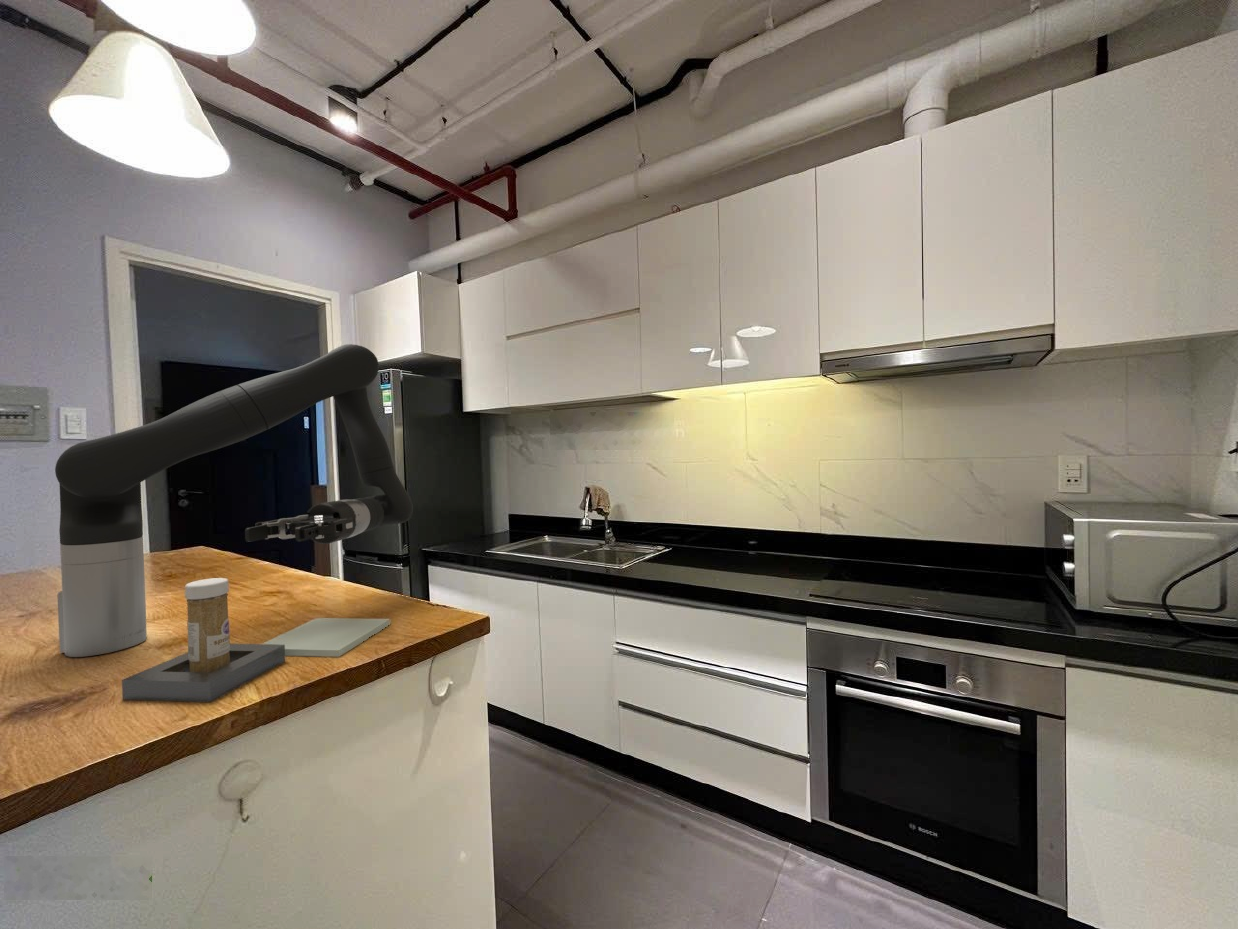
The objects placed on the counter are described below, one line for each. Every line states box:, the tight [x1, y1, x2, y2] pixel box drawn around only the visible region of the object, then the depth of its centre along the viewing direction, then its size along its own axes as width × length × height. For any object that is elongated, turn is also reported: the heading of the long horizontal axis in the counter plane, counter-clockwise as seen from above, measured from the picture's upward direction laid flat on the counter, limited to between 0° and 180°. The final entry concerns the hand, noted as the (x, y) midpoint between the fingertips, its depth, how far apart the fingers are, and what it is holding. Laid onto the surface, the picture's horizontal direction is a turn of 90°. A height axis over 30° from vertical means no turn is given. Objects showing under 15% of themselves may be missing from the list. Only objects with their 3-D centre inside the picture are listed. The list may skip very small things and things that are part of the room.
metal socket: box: [121, 643, 286, 703], centre depth 67 cm, size 12×12×2 cm
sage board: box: [262, 617, 391, 658], centre depth 82 cm, size 14×14×1 cm
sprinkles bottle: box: [184, 577, 231, 673], centre depth 67 cm, size 5×5×14 cm
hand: (272, 535), depth 78 cm, fingers open, 8 cm apart
